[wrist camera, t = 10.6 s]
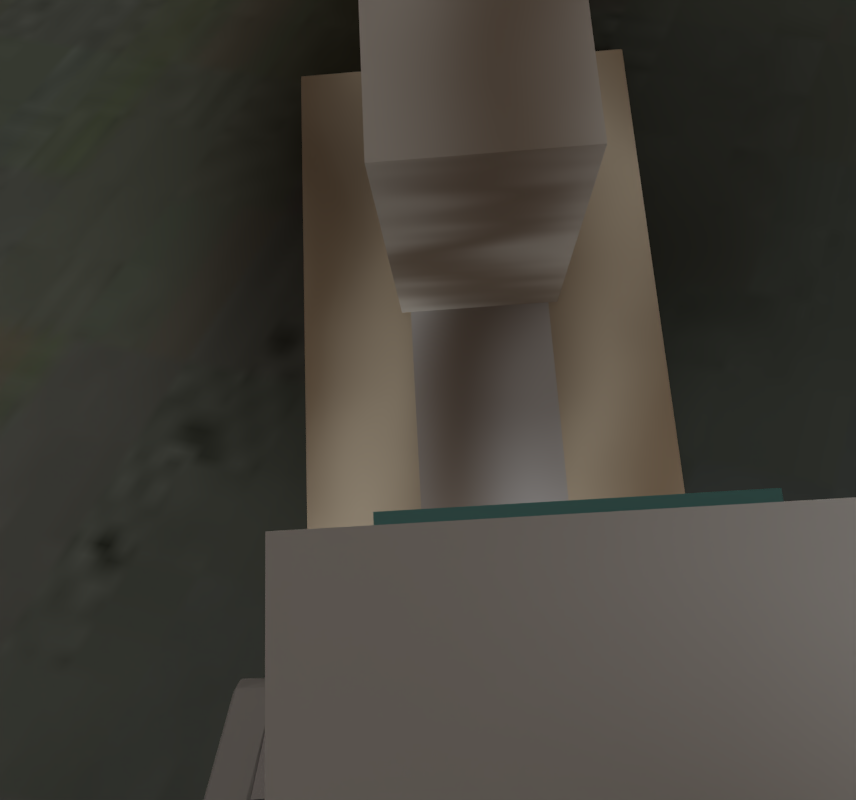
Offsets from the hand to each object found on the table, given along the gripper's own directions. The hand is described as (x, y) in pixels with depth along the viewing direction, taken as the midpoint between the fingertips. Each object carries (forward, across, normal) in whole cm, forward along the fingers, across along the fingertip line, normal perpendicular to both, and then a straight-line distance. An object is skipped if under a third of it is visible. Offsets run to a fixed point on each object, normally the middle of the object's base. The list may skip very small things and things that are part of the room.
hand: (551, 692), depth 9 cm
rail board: (+18, 0, +2) cm, 18 cm away
